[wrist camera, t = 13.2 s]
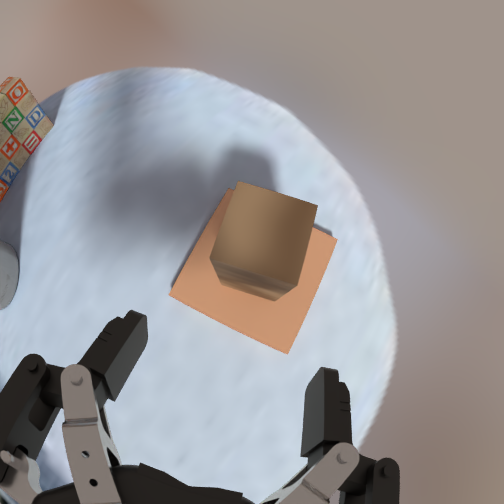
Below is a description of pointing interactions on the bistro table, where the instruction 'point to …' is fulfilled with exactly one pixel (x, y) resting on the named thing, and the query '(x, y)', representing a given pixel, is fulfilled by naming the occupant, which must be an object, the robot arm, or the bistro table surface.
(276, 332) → the terracotta tile
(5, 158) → the stack of blocks
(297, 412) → the bistro table surface
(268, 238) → the walnut block
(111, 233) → the bistro table surface
